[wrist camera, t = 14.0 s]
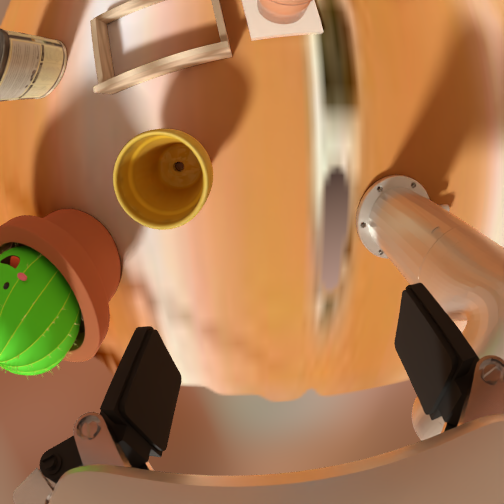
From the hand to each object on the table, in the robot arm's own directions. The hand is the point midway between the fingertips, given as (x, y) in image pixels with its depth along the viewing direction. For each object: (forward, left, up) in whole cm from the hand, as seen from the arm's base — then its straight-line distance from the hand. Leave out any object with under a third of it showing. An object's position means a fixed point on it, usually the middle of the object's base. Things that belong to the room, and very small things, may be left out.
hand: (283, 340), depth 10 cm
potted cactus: (+32, +5, -28) cm, 43 cm away
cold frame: (+9, -23, -28) cm, 38 cm away
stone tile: (-6, -23, -28) cm, 37 cm away
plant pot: (+10, -4, -28) cm, 30 cm away
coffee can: (+29, -27, -28) cm, 49 cm away
